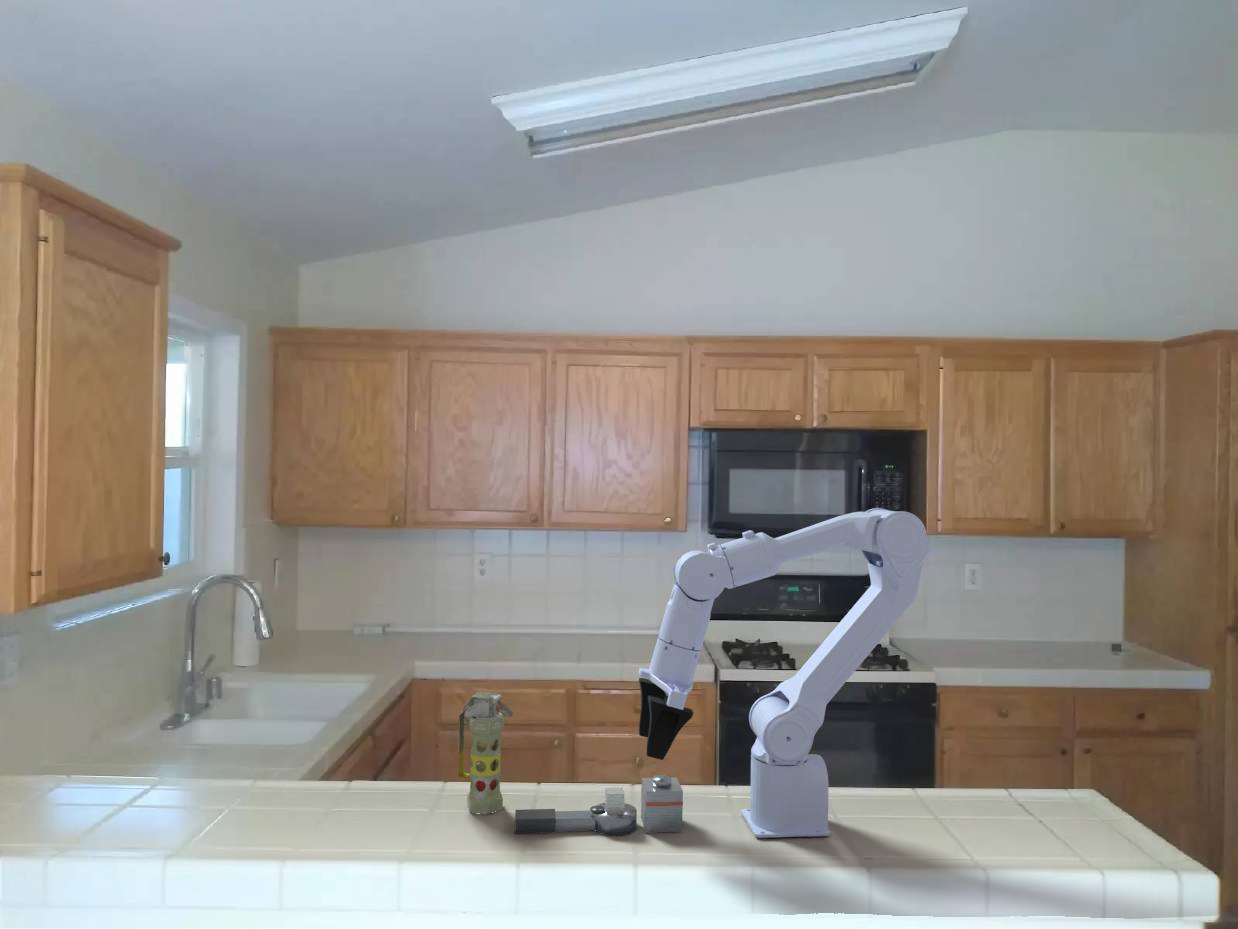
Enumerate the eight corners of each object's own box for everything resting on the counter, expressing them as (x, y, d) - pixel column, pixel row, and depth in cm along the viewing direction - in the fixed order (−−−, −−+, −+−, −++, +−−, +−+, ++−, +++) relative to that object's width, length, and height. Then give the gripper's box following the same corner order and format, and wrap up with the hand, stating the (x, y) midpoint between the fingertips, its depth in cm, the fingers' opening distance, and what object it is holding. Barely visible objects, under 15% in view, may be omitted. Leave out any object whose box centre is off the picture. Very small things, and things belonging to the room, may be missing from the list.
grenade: (498, 816, 111) (500, 700, 112) (449, 811, 113) (451, 697, 113) (513, 798, 118) (515, 688, 118) (467, 793, 119) (469, 685, 119)
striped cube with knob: (676, 817, 112) (676, 771, 112) (682, 832, 108) (683, 784, 108) (640, 818, 112) (641, 772, 112) (645, 833, 107) (646, 785, 107)
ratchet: (633, 816, 112) (634, 782, 112) (639, 835, 106) (639, 798, 106) (515, 819, 111) (516, 784, 111) (514, 838, 105) (515, 801, 105)
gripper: (642, 624, 116) (615, 721, 116) (657, 648, 102) (626, 759, 102) (691, 637, 117) (664, 733, 117) (714, 663, 103) (683, 773, 102)
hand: (650, 746), depth 109 cm, fingers open, 7 cm apart
